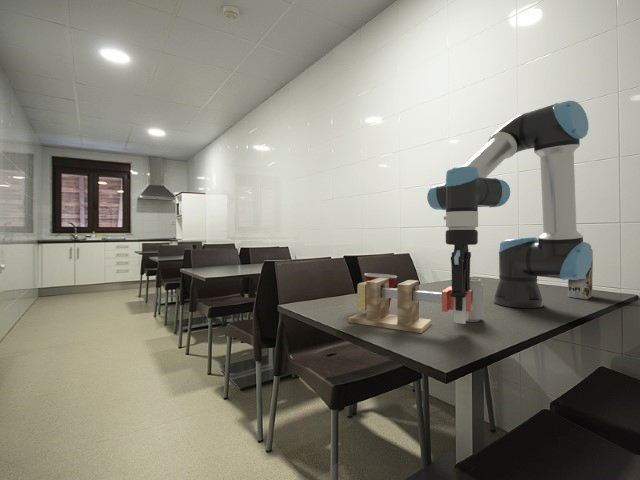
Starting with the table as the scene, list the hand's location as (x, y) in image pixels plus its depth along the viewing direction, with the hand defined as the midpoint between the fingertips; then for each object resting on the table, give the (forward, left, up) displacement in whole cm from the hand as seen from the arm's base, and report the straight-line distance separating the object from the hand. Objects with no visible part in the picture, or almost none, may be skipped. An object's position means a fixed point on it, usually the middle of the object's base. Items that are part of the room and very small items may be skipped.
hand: (461, 321), depth 87 cm
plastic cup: (+28, -14, -3) cm, 31 cm away
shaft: (+13, 0, +3) cm, 13 cm away
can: (+1, -16, -3) cm, 16 cm away
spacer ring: (+26, 0, +4) cm, 26 cm away
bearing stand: (+19, 0, -3) cm, 19 cm away
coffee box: (-30, -74, -3) cm, 80 cm away
